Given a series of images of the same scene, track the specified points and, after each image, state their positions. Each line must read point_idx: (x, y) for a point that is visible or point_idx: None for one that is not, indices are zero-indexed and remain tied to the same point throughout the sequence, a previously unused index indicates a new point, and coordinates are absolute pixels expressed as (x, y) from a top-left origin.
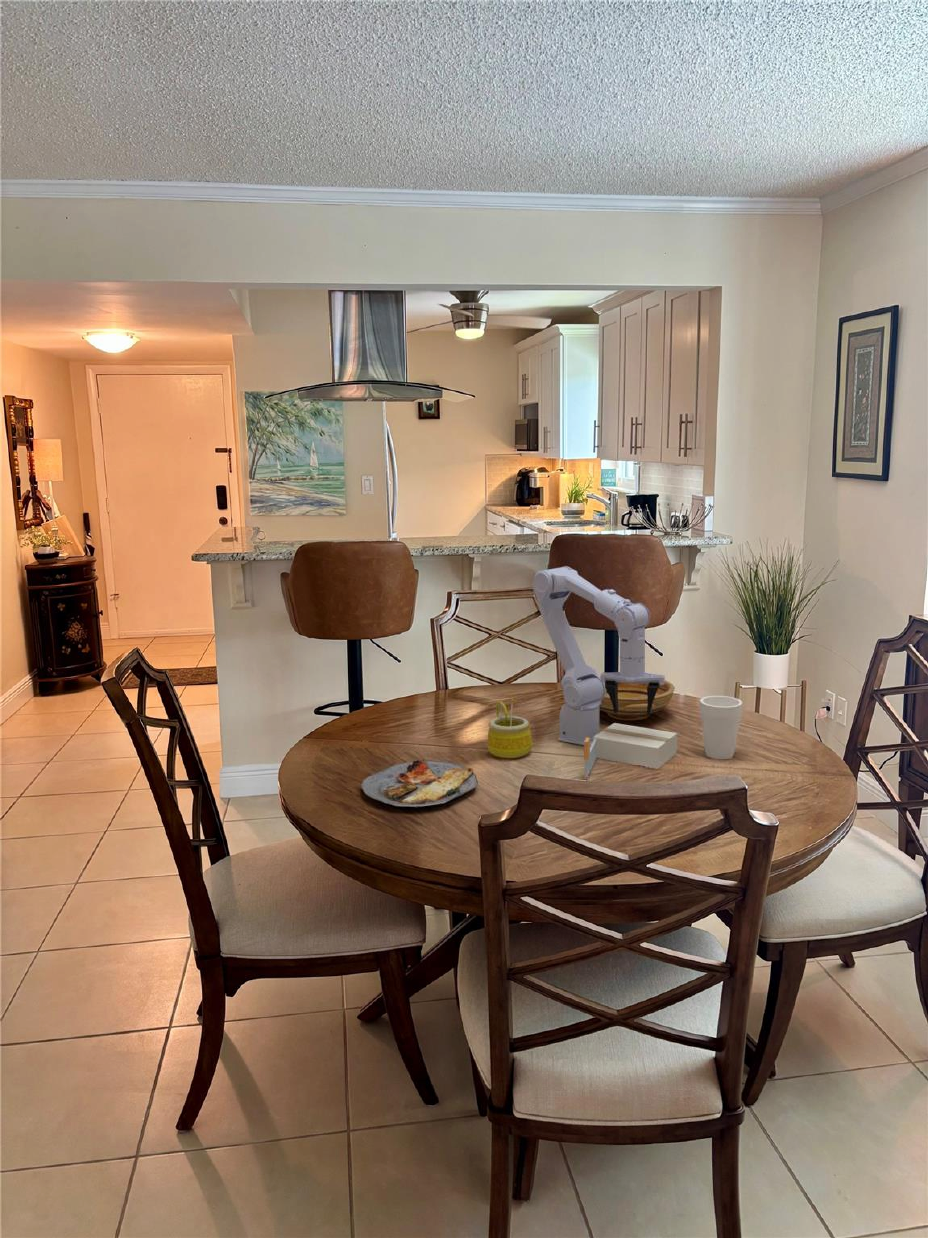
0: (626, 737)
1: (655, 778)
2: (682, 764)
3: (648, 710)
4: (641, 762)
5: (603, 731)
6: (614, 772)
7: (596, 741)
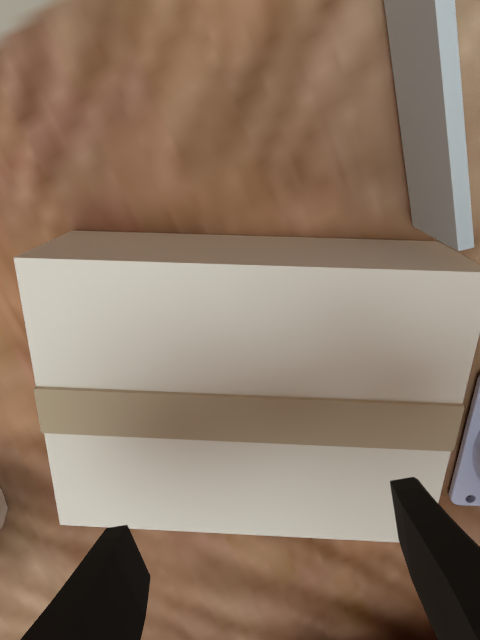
0: (276, 359)
1: (18, 98)
2: (13, 345)
3: (96, 556)
4: (153, 236)
5: (451, 400)
6: (249, 71)
7: (451, 232)
